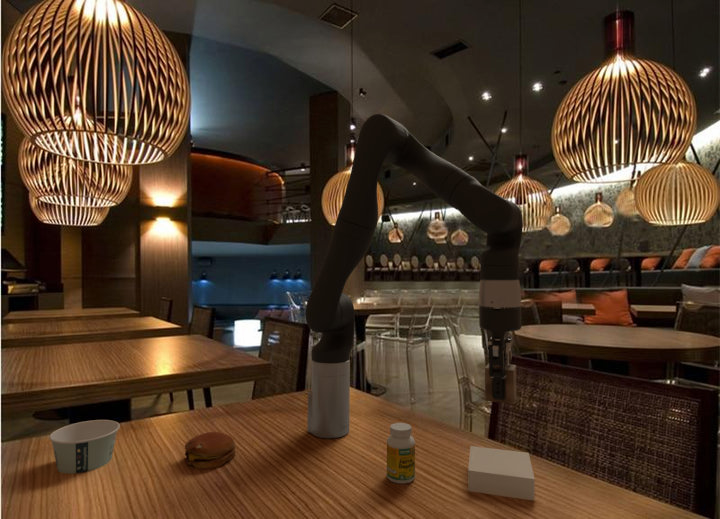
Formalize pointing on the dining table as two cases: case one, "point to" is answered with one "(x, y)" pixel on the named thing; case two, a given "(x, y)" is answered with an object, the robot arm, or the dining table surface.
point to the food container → (84, 445)
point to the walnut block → (509, 385)
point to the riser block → (501, 473)
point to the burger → (209, 450)
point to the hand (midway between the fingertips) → (500, 394)
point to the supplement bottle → (400, 454)
